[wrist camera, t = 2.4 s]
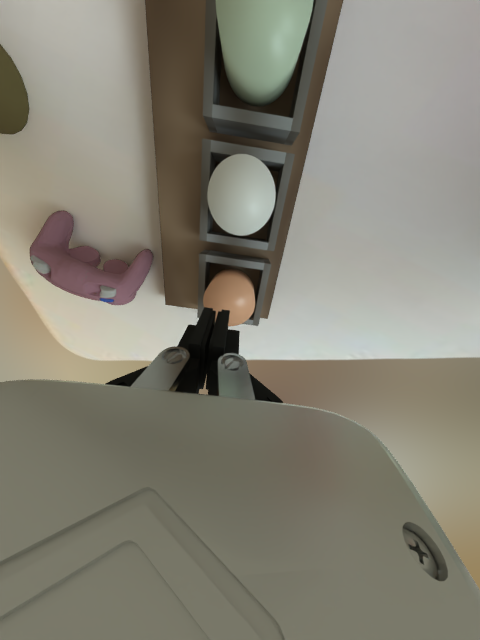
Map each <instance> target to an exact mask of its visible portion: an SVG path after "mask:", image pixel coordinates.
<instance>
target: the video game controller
mask: <svg viewBox="0 0 480 640" xmlns="http://www.w3.org/2000/svg"><path fill="white" fill-rule="evenodd" d="M73 226H74V221H73V217H72V215H71V214H70V213H68V212H67V211H57V212H55V213H53V214H52V215H51V216H50V217H49V218H48V219H47V221H46V222H45V224H44V226H43V227H42V229H41V231H40V233H39V234H38V236H37V237H36V239H35V240H34V242H33V243H32V245H31V247H30V260H31V263H32V265H33V266H34V268H35V269H36V270H37V272H38V273H39V274H40V275H41V276H43V277H44V278H45V279H46V280H48V281H49V282H50V283H52V284H53V285H55V286H57V287H59V288H61V289H63V290H65V291H67V292H69V293H72V294H75V295H78V296H80V297H84V298H88V299H92V300H98V301H103V302H107V303H108V304H112V305H124V304H127V303H129V302H131V301H132V300H133V299H134V298H135V296H136V291H137V290H138V289H139V288H140V286H141V285H142V283H143V282H144V280H145V278H146V276H147V274H148V272H149V270H150V267H151V264H152V261H153V254H152V252H151V251H150V250H149V249H145V250H143V251H141V252H140V253H139V254H138V255H137V256H136V258H135V259H134V261H133V262H132V264H131V265H130V266H129V268H128V265H127V264H126V263H125V262H124V261H121V260H117V259H112V260H109V261H107V262H105V264H104V267H103V269H104V271H103V270H101V269H98V268H96V267H97V266H98V265H99V264H100V262H101V259H100V256H99V253H98V251H97V250H96V249H94V248H92V247H89V246H82V247H77V248H73V249H69V241H70V238H71V235H72V232H73Z"/></svg>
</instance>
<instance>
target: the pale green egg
mask: <svg viewBox="0 0 480 640" xmlns="http://www.w3.org/2000/svg"><path fill="white" fill-rule="evenodd" d="M313 1H314V0H216V14H217V20H218V27H219V33H220V40H221V46H222V53H223V59H224V66H225V71H226V75H227V78H228V81H229V84H230V86H231V88H232V89H233V91H234V93H235V94H236V95H237V96H238V98H240V99H241V100H242V101H243V102H244V103H246V104H248V105H251V106H255V107H261V106H265V105H268V104H270V103H272V102H274V101H275V100H276V99H277V98H278V97H280V95H281V94H282V93H283V92H284V90H285V89H286V87H287V86H288V84H289V82H290V80H291V78H292V75H293V72H294V69H295V66H296V63H297V60H298V56H299V53H300V50H301V47H302V44H303V40H304V37H305V34H306V31H307V28H308V24H309V21H310V17H311V13H312V7H313Z"/></svg>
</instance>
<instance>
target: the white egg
mask: <svg viewBox="0 0 480 640" xmlns="http://www.w3.org/2000/svg"><path fill="white" fill-rule="evenodd" d="M207 195H208V205H209V209H210V212H211V214H212V216H213V218H214V220H215V221H216V223H217V224H218V225H219V226H220V227H221V228H222V229H223V230H225V231H226V232H228V233H231V234H233V235H239V236H244V235H249V234H252V233H254V232H256V231H258V230H259V229H261V228H262V227H263V226H264V225H265V224H266V222H267V221H268V219H269V218H270V216H271V214H272V211H273V209H274V205H275V197H276V192H275V184H274V180H273V177H272V175H271V173H270V171H269V170H268V168H267V167H266V166H265V164H264V163H263V162H261V161H260V160H259V159H257V158H256V157H254V156H251V155H248V154H236V155H232V156H230V157H228V158H226V159H225V160H223V161H222V162H221V163H220V164H219V165H218V166H217V167H216V169H215V170H214V172H213V174H212V176H211V178H210V181H209V185H208V193H207Z"/></svg>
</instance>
